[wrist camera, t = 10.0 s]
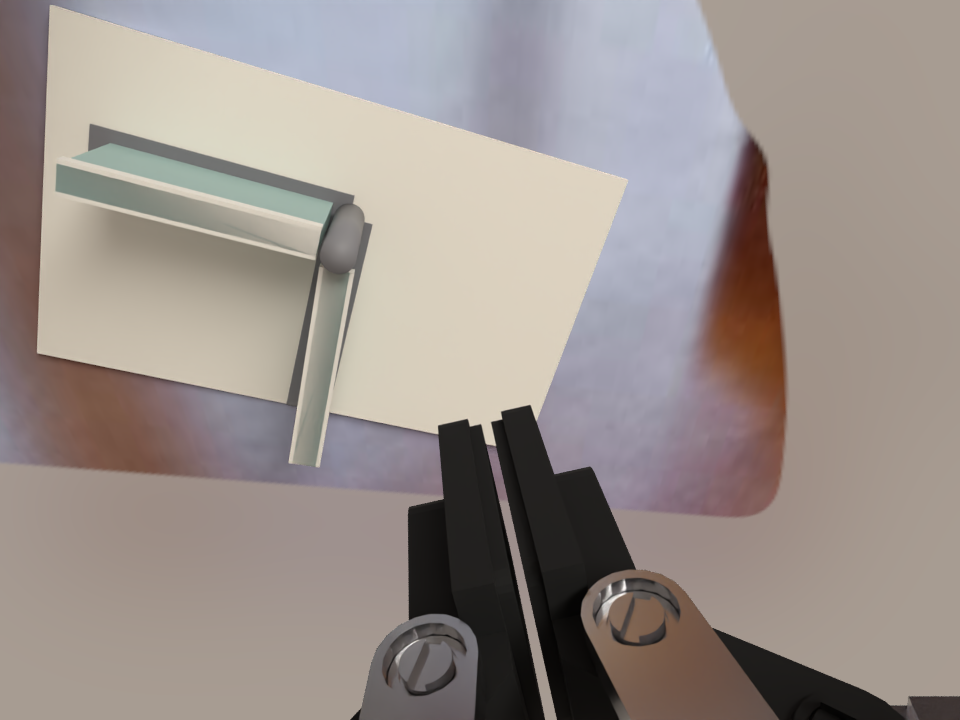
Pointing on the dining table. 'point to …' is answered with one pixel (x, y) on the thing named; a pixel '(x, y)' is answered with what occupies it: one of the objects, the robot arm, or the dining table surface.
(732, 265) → the dining table surface
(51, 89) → the card
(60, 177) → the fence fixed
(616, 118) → the dining table surface
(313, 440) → the pale open channel
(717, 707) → the robot arm
